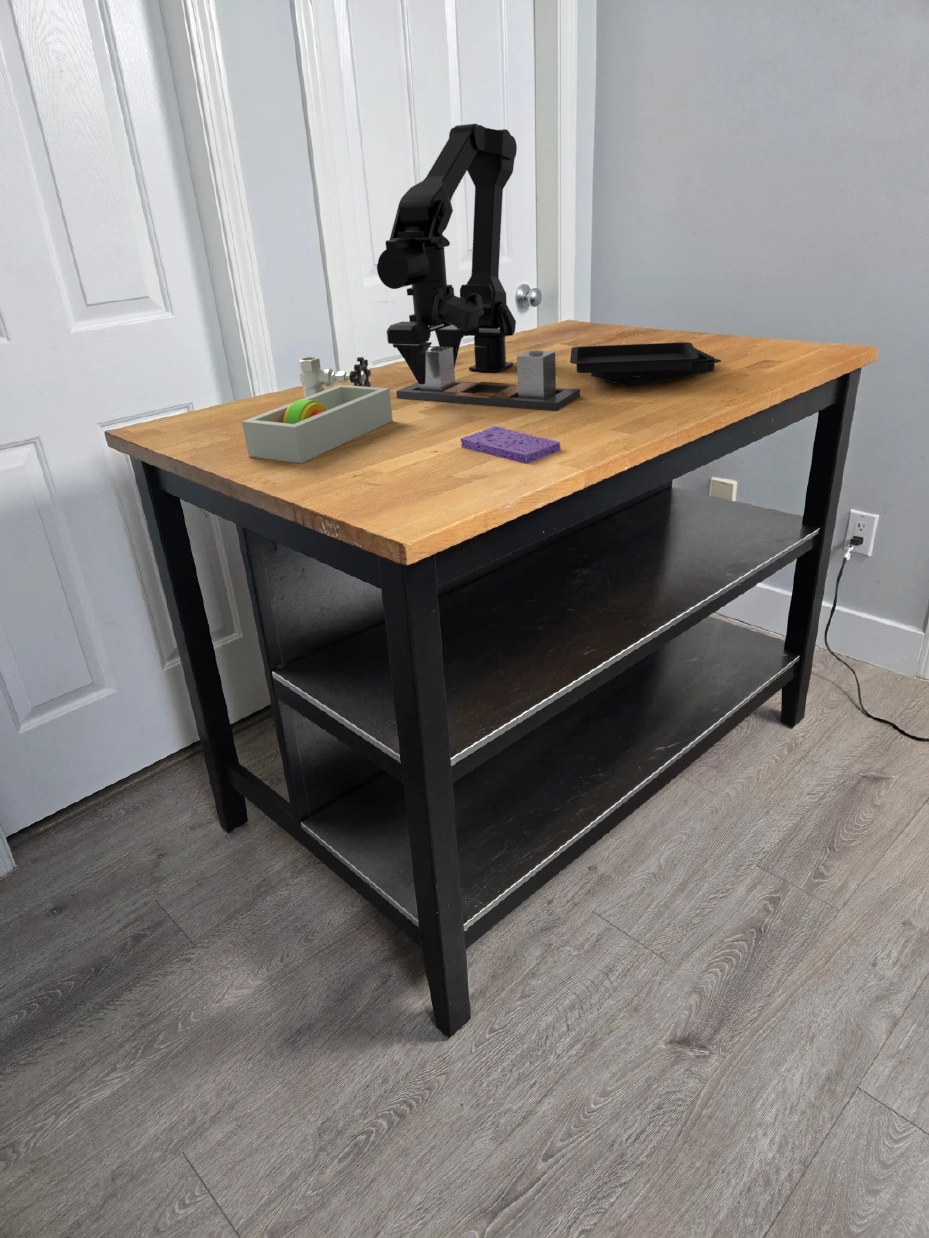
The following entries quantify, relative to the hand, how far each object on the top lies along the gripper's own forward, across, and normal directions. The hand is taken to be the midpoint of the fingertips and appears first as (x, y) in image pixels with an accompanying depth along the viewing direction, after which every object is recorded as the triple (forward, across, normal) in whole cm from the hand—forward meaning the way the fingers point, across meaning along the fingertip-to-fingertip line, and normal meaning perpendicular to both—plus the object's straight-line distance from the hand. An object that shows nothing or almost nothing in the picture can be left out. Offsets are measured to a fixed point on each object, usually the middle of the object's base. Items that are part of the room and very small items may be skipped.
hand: (436, 378), depth 141 cm
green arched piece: (+3, -28, +2) cm, 28 cm away
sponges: (+3, -24, -27) cm, 36 cm away
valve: (+3, -6, +18) cm, 19 cm away
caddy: (+3, -28, +2) cm, 28 cm away
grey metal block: (+3, 0, -19) cm, 19 cm away
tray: (+3, +19, -30) cm, 36 cm away
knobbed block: (+3, 0, 0) cm, 3 cm away
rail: (+3, 0, -10) cm, 10 cm away
